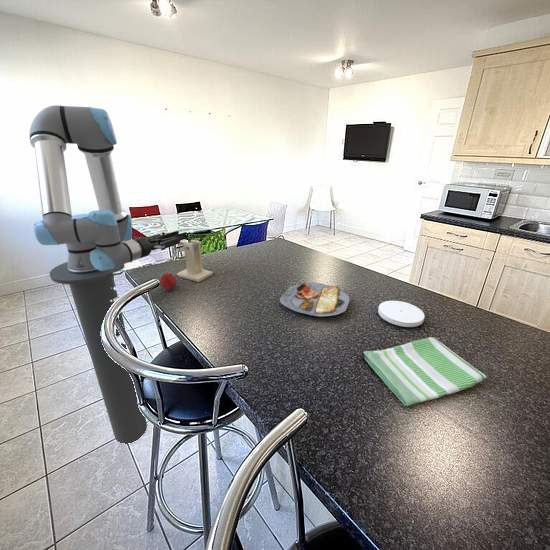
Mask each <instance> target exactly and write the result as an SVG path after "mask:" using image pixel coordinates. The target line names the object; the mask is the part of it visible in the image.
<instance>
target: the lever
mask: <svg viewBox="0 0 550 550" xmlns="http://www.w3.org/2000/svg"><path fill="white" fill-rule="evenodd" d="M190 243H191V244H193V246H194V250H195V249H197V243H193V242H191V241H190ZM177 245H178V246H182V247H184V242H183V241H179V244H177ZM175 246H176V245H174V246H173V247H175Z"/></svg>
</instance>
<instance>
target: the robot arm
mask: <svg viewBox="0 0 550 550" xmlns="http://www.w3.org/2000/svg"><path fill="white" fill-rule="evenodd" d="M28 134H29V135H28V136H29V142H30V146H31V147H33V148H34V153H35V162H36V170H37V172H36V173H37V179H38V180H37V181H38V190H39V198H40V206H41V215H42V220H39V221H35V222H34V225H33V230H34V231H33V232H34V236H35V238H36V240H37V242H38V243H39V244H40V245H42V246H59V245H65V246H66V249H67V253H68V255H67V256H68V257H67V262H68V265H67V267H68V271H69V272H71V273H75V274H84V273H91V272H95V271H98V270H100V271H105V270H108V269H113V268H115V267H117V266H120V265H123V264H124V265H125V264H128V263H133V262H134V261H136V260H140V259H143V258H145V257H149V255H151V252H152V251H156V250H158V249H160V251H164V250H166V249H168V248H171V247H175V246H177V245H178V244H179V242H182V241H184V240H186V239H188V233H187V232H186V231H184V232H182V233H180V232H179V230H175V231H171V232H167V233H166V232H164V231H163V232H161V233H156V234H153V235H150V236H146V237H143V236H139V237H135V238H133V225H132V223H133V222H132V215H131V214H128V212H127V211H126V210H125V209H124V208H122V203H121V198H120V197H121V196H120V193H119V188H118V183H117V179H116V178H117V177H116V174H115V169H114V164H113V159H112V152H113V151H114V150H115V147H114V146H115V145H117V144H118V141H117V138H116V133H115V130H114V127H113V124H112V120H111V118H110V115H109V114H108V112H107V110H105V109H103V108H97V107H92V106H69V105H59V104H58V105H50V106H47V107H45V108H43V109H42V110H40V111H39V112H38V113H37V114H36V116H35V117H34V118H33V120H32V122H31V124H30V128H29V132H28ZM68 144H70V145H76V146H77V149H78V151H79V152H81V153H82V154H84V157H85V161H86V166H87V169H88V173H89V177H90V180H91V181H90V182H91V184H92V187H93V191H94V196H95V199H96V204H97V206H98V209H97V210H91V211H89V212H88V213H79V214H74V215H73V214H72V208H71V207H72V206H71V199H70V192H69V191H70V190H69V184H68V176H67V169H66V161H65V153H64V152H65V151H66V150H67V145H68ZM174 245H175V246H174Z"/></svg>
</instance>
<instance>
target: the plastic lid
mask: <svg viewBox="0 0 550 550" xmlns="http://www.w3.org/2000/svg"><path fill="white" fill-rule="evenodd" d="M377 314H378V315H379V317H381V318H382V319H383V320H384V321H386V322H388V323H390V324H392V325H395V326H399V327H403V328H405V327H406V328H415V327H419V326H421V325H422V324H423V323H424V321H425V313H424V311H423V310H422V309H421V308H419V307H418V306H416V305H414V304H411V303H409V302H405V301H401V300H386V301H383V302H380V303H379V304H378V309H377Z"/></svg>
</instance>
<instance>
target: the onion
mask: <svg viewBox="0 0 550 550" xmlns="http://www.w3.org/2000/svg"><path fill="white" fill-rule="evenodd" d="M159 285H160V287H161V288H162V289H164V290H166V291H167V292H171V291H173V289H174V288H176V285H177V279H176V277H175V275H173V274H172V273H170V272H169V271H165V273H164V274H163V275H162V276H161V278H160V280H159Z"/></svg>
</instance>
